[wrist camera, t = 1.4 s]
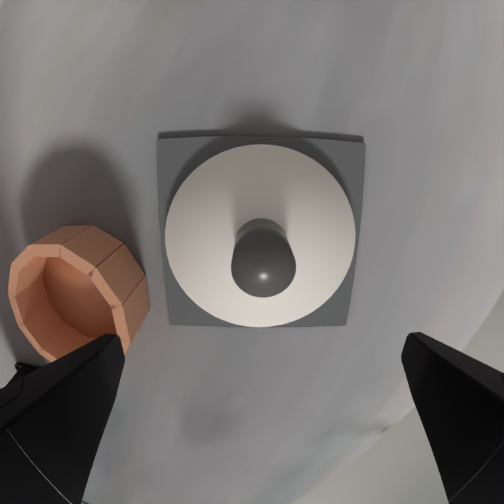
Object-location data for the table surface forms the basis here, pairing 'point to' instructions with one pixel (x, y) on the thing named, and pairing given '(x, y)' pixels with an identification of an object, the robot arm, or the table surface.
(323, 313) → the mat
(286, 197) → the lid
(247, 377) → the table surface
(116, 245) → the bowl
